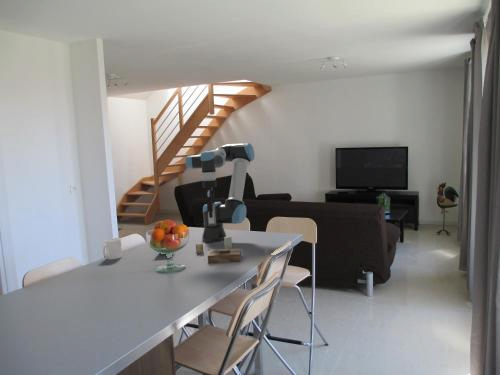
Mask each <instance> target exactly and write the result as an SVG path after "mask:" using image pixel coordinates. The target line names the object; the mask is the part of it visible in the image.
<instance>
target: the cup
mask: <svg viewBox="0 0 500 375" xmlns="http://www.w3.org/2000/svg"><path fill="white" fill-rule="evenodd" d="M121 239H122V238H118V237H113V238H108V239H105V240H104V244H103V247H102V255H103V257H104V258H106V259H107V260H108V261H109V260H112V261H113V260H117V259H121V258H122V257H123V250H122V249H123V248H122V240H121Z"/></svg>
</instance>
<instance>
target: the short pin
mask: <svg viewBox="0 0 500 375" xmlns="http://www.w3.org/2000/svg"><path fill="white" fill-rule="evenodd" d="M204 253H205V252H204V243H202V242H198V243H195V254H197V255H198V254H199V255H201V254H204Z"/></svg>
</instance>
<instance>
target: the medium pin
mask: <svg viewBox="0 0 500 375" xmlns="http://www.w3.org/2000/svg"><path fill="white" fill-rule="evenodd" d="M223 244H224V249H233V244H232V236H226V237H224V243H223Z"/></svg>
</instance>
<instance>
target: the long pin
mask: <svg viewBox="0 0 500 375" xmlns="http://www.w3.org/2000/svg"><path fill="white" fill-rule="evenodd" d="M213 213H214V223H213V224H209V226H216V217H215V203H213ZM208 222H209V216H208Z"/></svg>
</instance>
